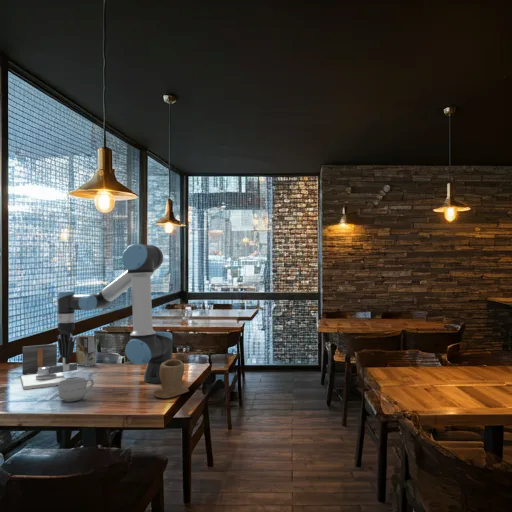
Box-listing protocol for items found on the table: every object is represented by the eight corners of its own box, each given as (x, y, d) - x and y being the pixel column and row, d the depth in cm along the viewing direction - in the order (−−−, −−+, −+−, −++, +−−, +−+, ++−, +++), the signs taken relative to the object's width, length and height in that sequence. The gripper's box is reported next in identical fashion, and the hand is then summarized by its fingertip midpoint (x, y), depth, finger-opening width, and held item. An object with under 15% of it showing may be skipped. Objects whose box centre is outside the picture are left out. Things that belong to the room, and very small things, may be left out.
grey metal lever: (39, 380, 211) (39, 370, 211) (33, 377, 218) (33, 367, 218) (79, 374, 224) (79, 364, 224) (72, 371, 230) (73, 361, 230)
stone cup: (167, 402, 181) (168, 364, 182) (149, 397, 189) (149, 361, 189) (196, 394, 193) (196, 359, 193) (177, 389, 200) (177, 355, 201)
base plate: (67, 384, 210) (67, 380, 211) (23, 389, 202) (23, 385, 202) (60, 373, 232) (60, 370, 232) (21, 378, 223) (21, 374, 223)
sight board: (56, 371, 238) (57, 344, 239) (22, 374, 230) (22, 347, 231) (56, 370, 240) (56, 343, 240) (22, 374, 232) (22, 346, 232)
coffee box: (96, 364, 256) (96, 335, 256) (88, 366, 250) (88, 337, 250) (83, 363, 259) (83, 334, 260) (75, 365, 253) (75, 336, 254)
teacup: (59, 405, 178) (59, 384, 178) (57, 398, 188) (57, 378, 188) (96, 400, 185) (96, 380, 185) (92, 394, 194) (92, 375, 194)
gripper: (51, 322, 223) (51, 370, 222) (66, 323, 216) (66, 373, 215) (65, 320, 229) (65, 367, 228) (80, 322, 222) (80, 370, 221)
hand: (65, 370), depth 222 cm, fingers closed
